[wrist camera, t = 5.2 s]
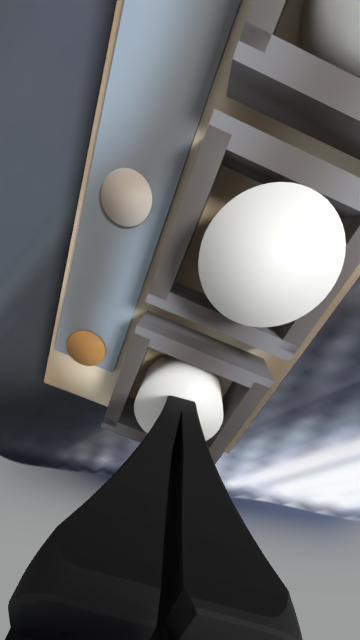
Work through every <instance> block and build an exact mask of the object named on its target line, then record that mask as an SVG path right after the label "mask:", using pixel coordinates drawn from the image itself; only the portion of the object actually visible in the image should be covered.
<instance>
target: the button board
mask: <svg viewBox="0 0 360 640" xmlns="http://www.w3.org/2000/svg"><path fill="white" fill-rule="evenodd" d="M303 5H304V0H117V3H116V9H115V14H114V19H113V24H112V29H111V35H110V40H109V45H108V50H107V56H106V61H105V66H104V71H103V76H102V82H101V87H100V92H99V97H98V102H97V108H96V113H95V118H94V123H93V128H92V134H91V139H90V144H89V149H88V155H87V160H86V165H85V170H84V175H83V181H82V186H81V191H80V196H79V201H78V207H77V212H76V217H75V222H74V228H73V233H72V238H71V243H70V248H69V254H68V259H67V264H66V269H65V274H64V280H63V285H62V290H61V295H60V300H59V306H58V311H57V316H56V321H55V327H54V332H53V337H52V342H51V347H50V353H49V358H48V363H47V368H46V373H45V379H44V383H47V384H50V385H52V386H55V387H57V388H60V389H63V390H65V391H68V392H70V393H73V394H76V395H78V396H81V397H83V398H86V399H89V400H91V401H94V402H96V403H99V404H102V405H104V406H107V410H106V413H105V415H104V418H103V421H102V424H101V427H102V428H104V429H107V430H110V431H112V432H115V433H118V434H120V435H123V436H125V437H128V438H131V439H133V440H136V441H139V442H142V441H143V439H144V438H145V436H146V435H147V433H146V432H145V431H144V430H143V429H142V428H141V426H140V425H139V423H138V421H137V419H136V417H135V413H134V403H135V399H136V396H137V394H138V391H139V389H140V386H141V384H142V382H143V379H144V377H145V374H146V372H147V370H148V368H149V367H150V366H151V365H152V364H153V363H154V362H155V361H157V360H158V359H160V358H162V357H164V356H167V355H170V356H172V357H175V358H177V359H180V360H182V361H184V362H187V363H189V364H192V365H194V366H197V367H199V368H202V369H204V370H207V371H209V372H212V373H214V374H217V375H218V377H219V380H220V385H221V394H222V404H223V422H222V425H221V427H220V429H219V430H218V431H217V433H216V434H215V435H214V436H213V437H211V438H210V439H209V440H207V441H206V443H207V446H208V448H209V451H210V454H211V456H212V459H213V461H214V464H216V462H217V461H218V459H219V458H220V457H221V455H222V454H223V452H226V453H229V452H230V451H231V450H232V448H233V447H234V445H235V444H236V443H237V441H238V440H239V439H240V437H241V436H242V435H243V433H244V432H245V431H246V429H247V428H248V426H249V425H250V424H251V422H252V421H253V420H254V418H255V417H256V416H257V414H258V413H259V412H260V410H261V409H262V407H263V406H264V405H265V403H266V402H267V401H268V399H269V398H270V397H271V395H272V394H273V393H274V391H275V390H276V388H277V387H278V386H279V384H280V383H281V382H282V380H283V379H284V378H285V376H286V375H287V373H288V372H289V371H290V369H291V368H292V367H293V365H294V364H295V363H296V361H297V360H298V359H299V357H300V356H301V354H302V353H303V352H304V350H305V349H306V348H307V346H308V345H309V344H310V342H311V341H312V340H313V338H314V337H315V335H316V334H317V333H318V331H319V330H320V329H321V327H322V326H323V325H324V323H325V322H326V321H327V319H328V318H329V316H330V315H331V314H332V312H333V311H334V310H335V308H336V307H337V306H338V304H339V303H340V302H341V300H342V299H343V297H344V296H345V295H346V293H347V292H348V291H349V289H350V288H351V287H352V285H353V284H354V283H355V281H356V280H357V278H358V277H359V276H360V78H358V77H356V76H354V75H352V74H350V73H348V72H346V71H344V70H342V69H340V68H338V67H336V66H334V65H332V64H330V63H328V62H326V61H324V60H322V59H320V58H318V57H316V56H314V55H312V54H310V53H308V52H306V51H304V50H303V48H302V40H301V20H302V11H303ZM274 182H291V183H296V184H301V185H303V186H306V187H309V188H311V189H313V190H315V191H316V192H318V193H320V194H321V195H322V196H323V197H325V198H326V199H327V200H328V201H329V202H330V203H331V204H332V206H333V207H334V208H335V210H336V212H337V213H338V215H339V217H340V219H341V222H342V224H343V228H344V232H345V240H346V250H345V258H344V263H343V266H342V270H341V273H340V275H339V277H338V279H337V281H336V283H335V285H334V286H333V288H332V290H331V291H330V292H329V294H328V295H327V296H326V297H325V299H324V300H323V301H322V302H321V303H320V304H319V305H318V306H316V307H315V308H314V309H313V310H311V311H310V312H309V313H307V314H305V315H304V316H302V317H300V318H298V319H296V320H294V321H292V322H289V323H286V324H283V325H279V326H273V327H251V326H246V325H242V324H240V323H237V322H234V321H232V320H230V319H228V318H227V317H225V316H224V315H222V314H221V313H220V312H219V311H218V310H217V309H216V308H215V307H214V306H213V305H212V304H211V302H210V301H209V299H208V298H207V296H206V294H205V292H204V290H203V288H202V285H201V281H200V277H199V269H198V260H199V251H200V247H201V242H202V239H203V236H204V233H205V231H206V229H207V227H208V225H209V224H210V222H211V221H212V219H213V218H214V217H215V216H216V215H217V213H218V212H219V211H220V210H221V209H222V208H223V207H224V206H225V205H226V204H227V203H228V202H229V201H231V200H232V199H233V198H235V197H236V196H237V195H239V194H241V193H243V192H245V191H246V190H248V189H251V188H253V187H256V186H259V185H263V184H267V183H274Z"/></svg>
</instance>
